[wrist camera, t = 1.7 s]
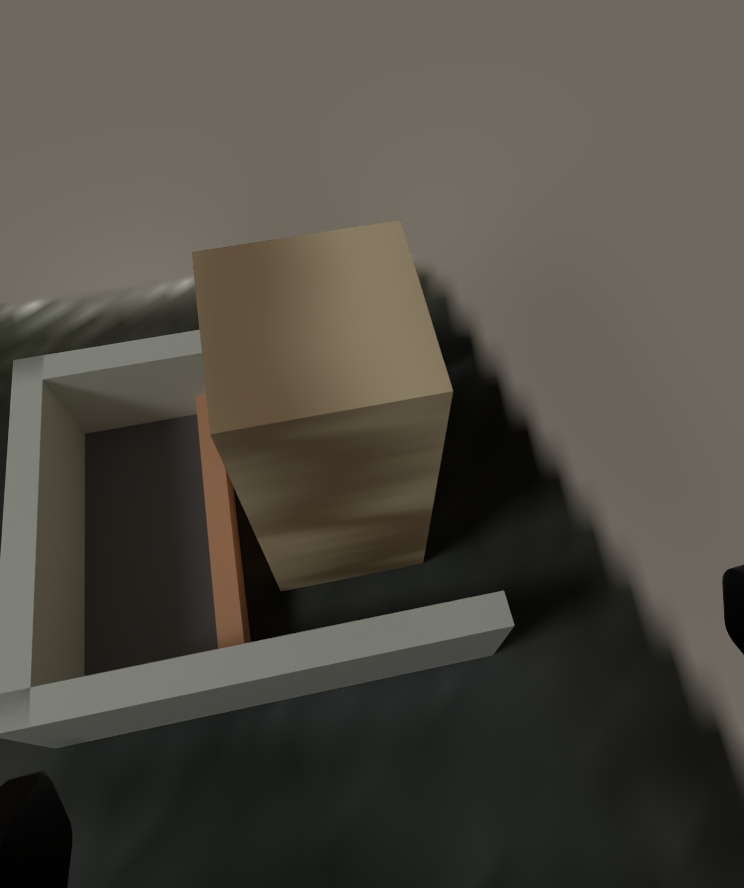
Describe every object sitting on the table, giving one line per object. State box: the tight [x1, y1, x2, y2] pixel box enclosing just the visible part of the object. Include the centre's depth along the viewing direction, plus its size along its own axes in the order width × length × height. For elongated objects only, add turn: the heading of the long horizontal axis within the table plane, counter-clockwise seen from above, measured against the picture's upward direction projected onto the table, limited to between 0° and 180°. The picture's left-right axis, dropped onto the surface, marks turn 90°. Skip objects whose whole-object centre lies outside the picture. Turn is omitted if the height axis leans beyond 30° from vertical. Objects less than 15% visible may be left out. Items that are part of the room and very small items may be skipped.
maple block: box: [192, 220, 453, 591], centre depth 20 cm, size 5×5×11 cm
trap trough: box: [0, 330, 514, 748], centre depth 22 cm, size 14×12×4 cm
